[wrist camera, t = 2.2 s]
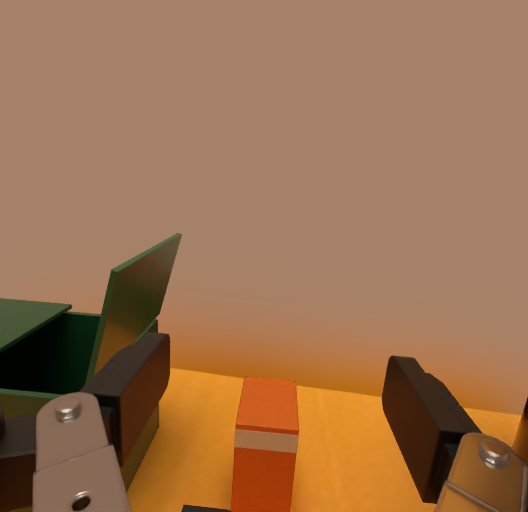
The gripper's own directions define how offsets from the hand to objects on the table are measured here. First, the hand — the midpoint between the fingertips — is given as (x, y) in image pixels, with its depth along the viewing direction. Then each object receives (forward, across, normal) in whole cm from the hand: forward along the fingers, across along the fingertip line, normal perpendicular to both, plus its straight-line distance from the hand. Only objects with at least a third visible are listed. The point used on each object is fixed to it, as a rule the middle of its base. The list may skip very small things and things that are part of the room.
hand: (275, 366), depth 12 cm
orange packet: (+11, 0, +20) cm, 23 cm away
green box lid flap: (+12, +10, +3) cm, 16 cm away
